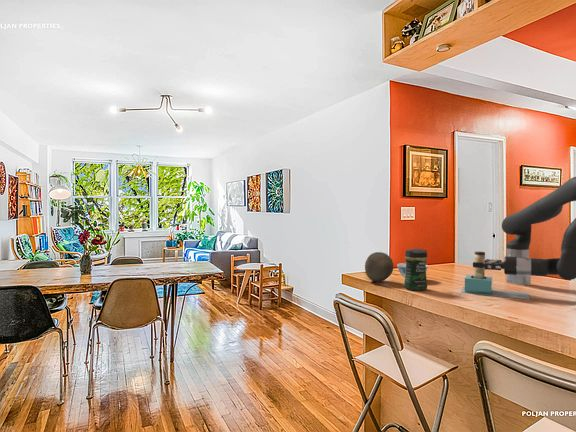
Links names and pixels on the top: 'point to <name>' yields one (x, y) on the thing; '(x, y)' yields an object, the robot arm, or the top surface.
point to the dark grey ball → (378, 266)
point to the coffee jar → (415, 269)
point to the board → (505, 294)
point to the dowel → (479, 271)
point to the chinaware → (404, 268)
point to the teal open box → (478, 285)
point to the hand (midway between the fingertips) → (473, 263)
